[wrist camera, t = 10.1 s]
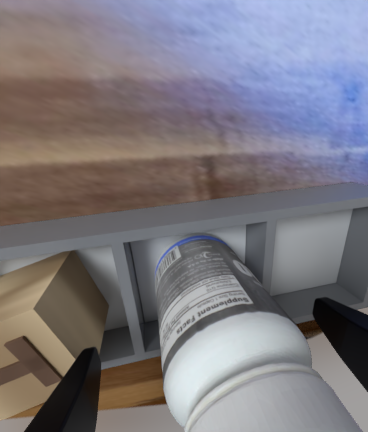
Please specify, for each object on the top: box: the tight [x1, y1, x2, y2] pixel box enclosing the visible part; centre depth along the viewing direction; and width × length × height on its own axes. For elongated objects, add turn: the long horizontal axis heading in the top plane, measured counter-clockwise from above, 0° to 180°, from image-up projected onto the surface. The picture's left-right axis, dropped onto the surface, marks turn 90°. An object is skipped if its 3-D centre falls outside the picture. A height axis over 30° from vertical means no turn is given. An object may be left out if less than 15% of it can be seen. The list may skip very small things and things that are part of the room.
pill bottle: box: [155, 233, 363, 432], centre depth 8 cm, size 5×5×8 cm
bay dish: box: [0, 182, 368, 370], centre depth 11 cm, size 22×8×3 cm, turn 93°
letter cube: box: [0, 250, 109, 421], centre depth 9 cm, size 4×4×4 cm
